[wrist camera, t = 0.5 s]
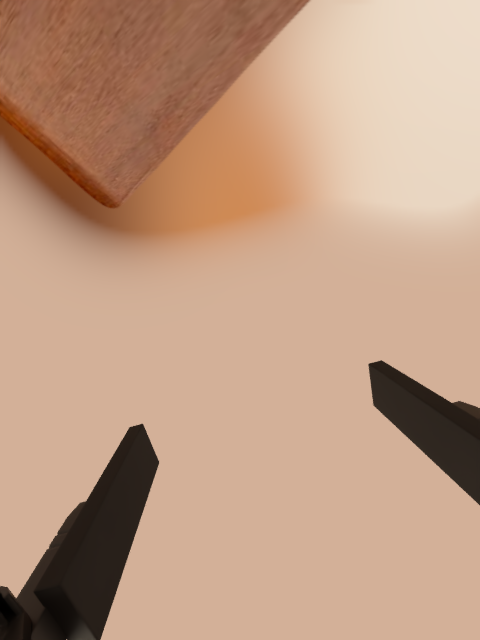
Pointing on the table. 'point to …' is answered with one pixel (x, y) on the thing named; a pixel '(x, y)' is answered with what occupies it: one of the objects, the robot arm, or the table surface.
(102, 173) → the table surface
